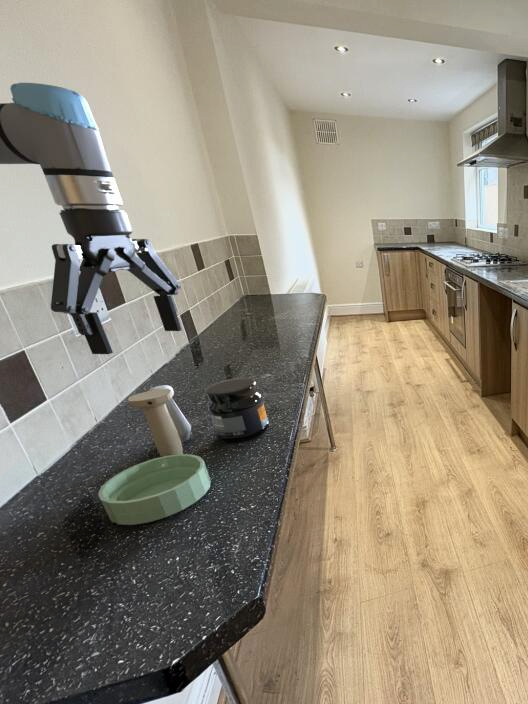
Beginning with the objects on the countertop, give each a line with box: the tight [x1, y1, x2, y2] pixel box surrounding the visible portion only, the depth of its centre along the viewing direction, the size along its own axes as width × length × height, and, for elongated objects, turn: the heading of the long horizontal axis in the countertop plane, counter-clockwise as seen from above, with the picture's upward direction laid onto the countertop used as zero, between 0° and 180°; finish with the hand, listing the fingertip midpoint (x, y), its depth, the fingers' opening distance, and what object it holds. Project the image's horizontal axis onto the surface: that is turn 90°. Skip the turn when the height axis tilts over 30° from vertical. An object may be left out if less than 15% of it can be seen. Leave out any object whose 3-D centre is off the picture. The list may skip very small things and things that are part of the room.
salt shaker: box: [147, 384, 192, 444], centre depth 90 cm, size 6×6×13 cm
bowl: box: [97, 453, 212, 526], centre depth 72 cm, size 14×14×5 cm
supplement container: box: [204, 377, 270, 444], centre depth 93 cm, size 10×10×12 cm
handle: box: [127, 389, 185, 457], centre depth 82 cm, size 5×6×15 cm
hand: (141, 341), depth 71 cm, fingers open, 13 cm apart
